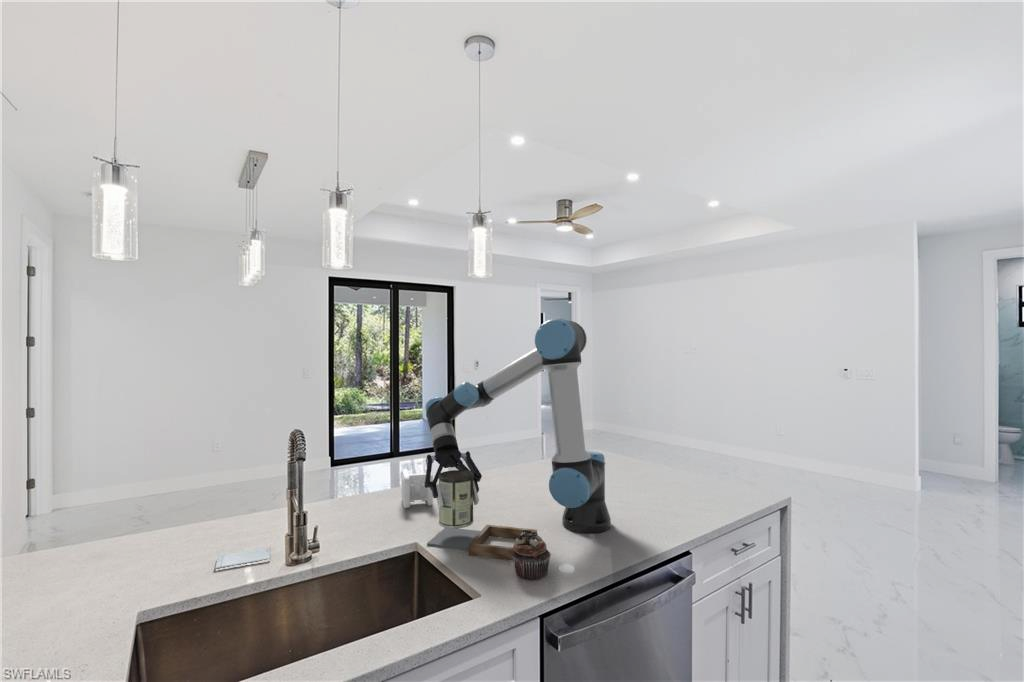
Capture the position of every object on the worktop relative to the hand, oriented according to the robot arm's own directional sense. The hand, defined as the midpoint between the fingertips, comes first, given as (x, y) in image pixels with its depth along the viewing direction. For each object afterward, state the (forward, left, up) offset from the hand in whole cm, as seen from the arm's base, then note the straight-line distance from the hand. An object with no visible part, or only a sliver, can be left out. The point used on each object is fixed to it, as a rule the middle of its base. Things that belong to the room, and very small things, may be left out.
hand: (459, 505), depth 139 cm
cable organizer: (+29, -29, -11) cm, 42 cm away
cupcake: (-24, +13, -11) cm, 30 cm away
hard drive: (+50, +26, -12) cm, 58 cm away
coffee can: (+2, -2, -6) cm, 7 cm away
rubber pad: (+2, -2, -11) cm, 11 cm away
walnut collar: (-13, 0, -11) cm, 17 cm away
